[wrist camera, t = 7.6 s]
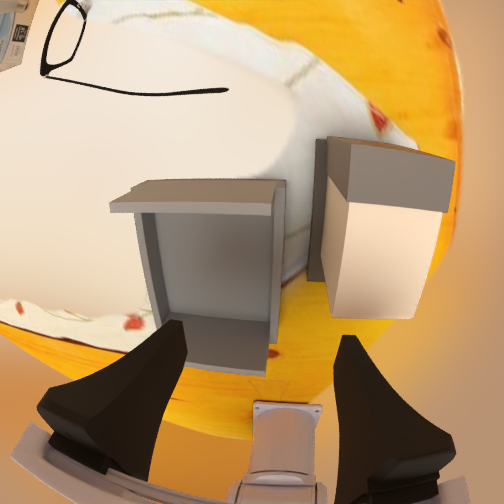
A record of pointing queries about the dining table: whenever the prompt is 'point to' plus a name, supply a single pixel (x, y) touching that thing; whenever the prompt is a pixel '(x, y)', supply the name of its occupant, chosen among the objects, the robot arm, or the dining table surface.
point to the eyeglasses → (46, 69)
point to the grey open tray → (213, 264)
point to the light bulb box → (14, 30)
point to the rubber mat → (318, 214)
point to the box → (380, 226)
